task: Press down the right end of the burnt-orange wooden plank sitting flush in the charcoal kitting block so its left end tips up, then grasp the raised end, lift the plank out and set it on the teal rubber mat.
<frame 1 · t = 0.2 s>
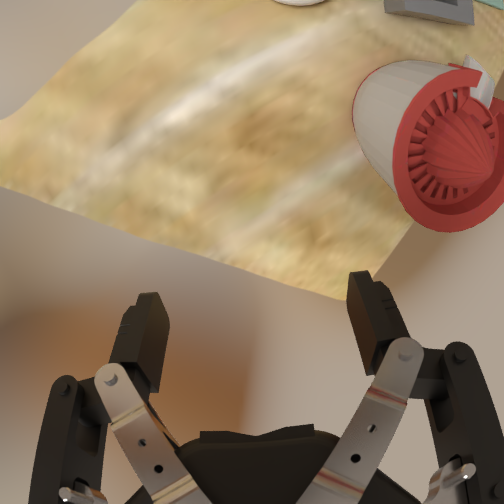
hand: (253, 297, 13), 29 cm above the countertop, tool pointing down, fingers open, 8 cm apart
citrus juicer: (395, 104, 35), on the countertop
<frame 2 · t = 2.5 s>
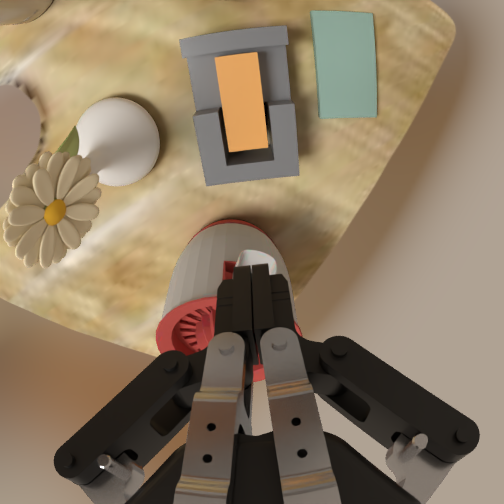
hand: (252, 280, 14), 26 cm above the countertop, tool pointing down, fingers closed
mat: (344, 63, 30), on the countertop
plank: (242, 98, 30), point 3 cm above the countertop, touching kitting block
citrus juicer: (233, 246, 46), on the countertop
kitting block: (242, 94, 33), on the countertop
flower in vase: (123, 133, 35), on the countertop
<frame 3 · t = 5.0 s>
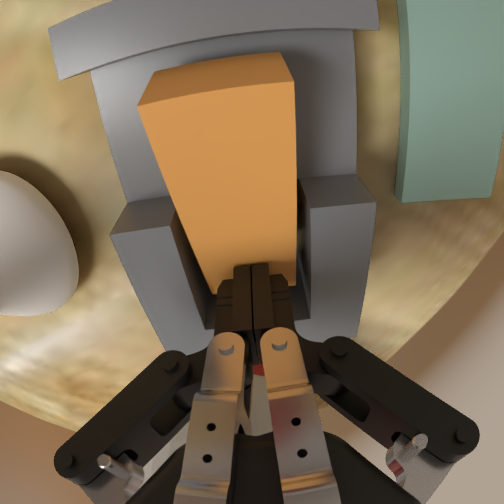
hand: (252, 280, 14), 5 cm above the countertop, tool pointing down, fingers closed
mat: (454, 88, 13), on the countertop
plank: (236, 174, 13), point 3 cm above the countertop, tilted 17°, touching gripper, kitting block
citrus juicer: (228, 377, 28), on the countertop
kitting block: (237, 148, 15), on the countertop
flower in vase: (21, 223, 17), on the countertop
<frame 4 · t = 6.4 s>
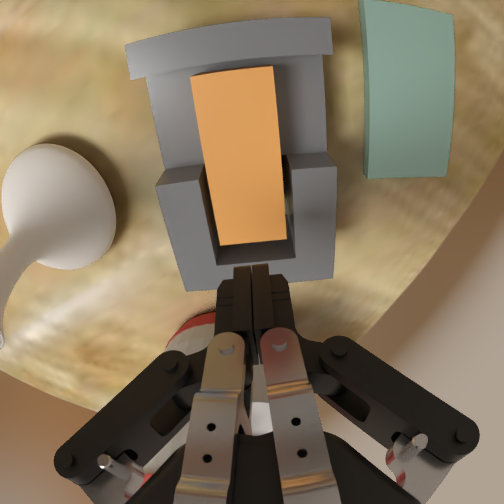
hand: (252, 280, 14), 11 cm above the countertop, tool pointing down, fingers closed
mat: (408, 90, 18), on the countertop
plank: (243, 149, 18), point 3 cm above the countertop, touching kitting block
citrus juicer: (231, 338, 33), on the countertop
kitting block: (244, 136, 21), on the countertop
flower in vase: (67, 192, 23), on the countertop
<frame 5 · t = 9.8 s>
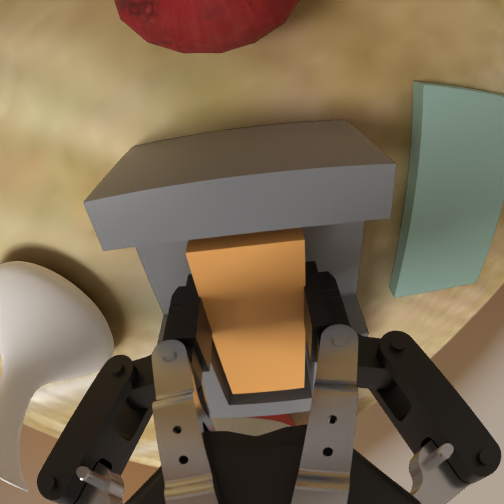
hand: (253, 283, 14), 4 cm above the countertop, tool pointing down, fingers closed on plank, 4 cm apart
mat: (454, 196, 16), on the countertop
plank: (257, 298, 16), point 3 cm above the countertop, touching gripper, kitting block
citrus juicer: (239, 415, 31), on the countertop
kitting block: (255, 260, 18), on the countertop
flower in vase: (54, 299, 20), on the countertop
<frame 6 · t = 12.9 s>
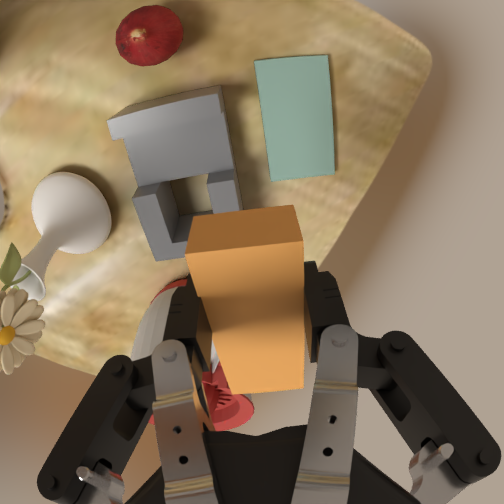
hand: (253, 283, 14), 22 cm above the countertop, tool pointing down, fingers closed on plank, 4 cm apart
mat: (296, 117, 30), on the countertop
plank: (256, 299, 16), point 21 cm above the countertop, touching gripper
citrus juicer: (197, 301, 46), on the countertop
kitting block: (187, 161, 33), on the countertop
flower in vase: (77, 201, 35), on the countertop
onion: (159, 36, 24), on the countertop
when the fingers open (8 cm above the countertop, at t = 16.2 s): plank drops 6 cm, resting on mat.
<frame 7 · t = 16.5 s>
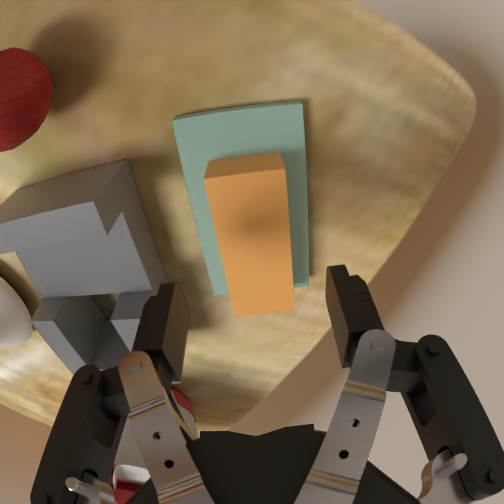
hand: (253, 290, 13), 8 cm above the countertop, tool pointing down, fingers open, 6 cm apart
mat: (250, 206, 20), on the countertop
plank: (254, 230, 20), point 1 cm above the countertop, touching mat
citrus juicer: (146, 393, 36), on the countertop
kitting block: (100, 262, 23), on the countertop
onion: (40, 85, 14), on the countertop
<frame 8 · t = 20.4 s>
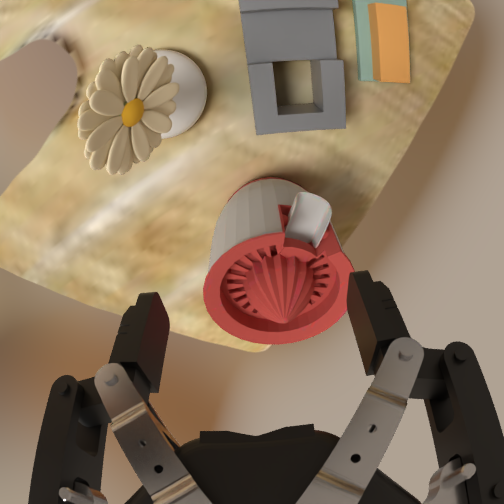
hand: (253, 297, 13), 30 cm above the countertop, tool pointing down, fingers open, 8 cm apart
mat: (381, 33, 30), on the countertop
plank: (385, 42, 30), point 1 cm above the countertop, touching mat
citrus juicer: (271, 207, 45), on the countertop
kitting block: (288, 54, 32), on the countertop
flower in vase: (166, 87, 34), on the countertop
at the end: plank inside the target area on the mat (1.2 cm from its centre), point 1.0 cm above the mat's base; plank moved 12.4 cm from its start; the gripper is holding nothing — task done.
